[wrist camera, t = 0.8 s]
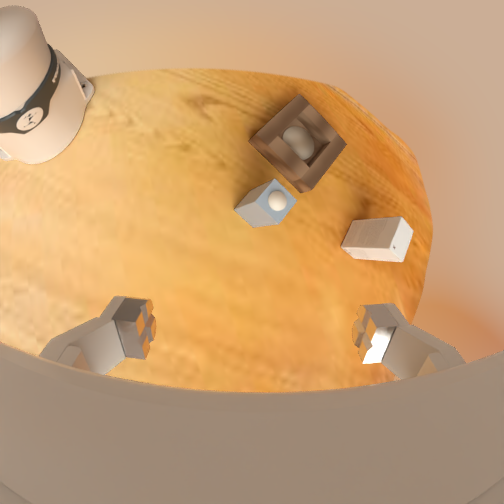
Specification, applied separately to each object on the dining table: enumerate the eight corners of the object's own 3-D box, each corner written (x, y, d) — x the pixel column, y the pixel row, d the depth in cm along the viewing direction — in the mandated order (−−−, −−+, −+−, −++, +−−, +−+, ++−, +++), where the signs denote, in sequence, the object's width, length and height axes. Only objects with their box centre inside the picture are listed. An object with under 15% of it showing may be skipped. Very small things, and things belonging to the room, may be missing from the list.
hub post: (233, 209, 40) (255, 201, 32) (250, 190, 41) (276, 177, 32) (252, 227, 42) (279, 224, 33) (268, 208, 42) (298, 200, 34)
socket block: (248, 141, 41) (256, 133, 37) (290, 101, 43) (299, 93, 40) (300, 193, 44) (311, 189, 41) (335, 149, 46) (346, 144, 43)
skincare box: (354, 259, 49) (402, 263, 37) (339, 247, 47) (388, 249, 36) (366, 232, 50) (414, 231, 38) (352, 219, 48) (401, 215, 37)
